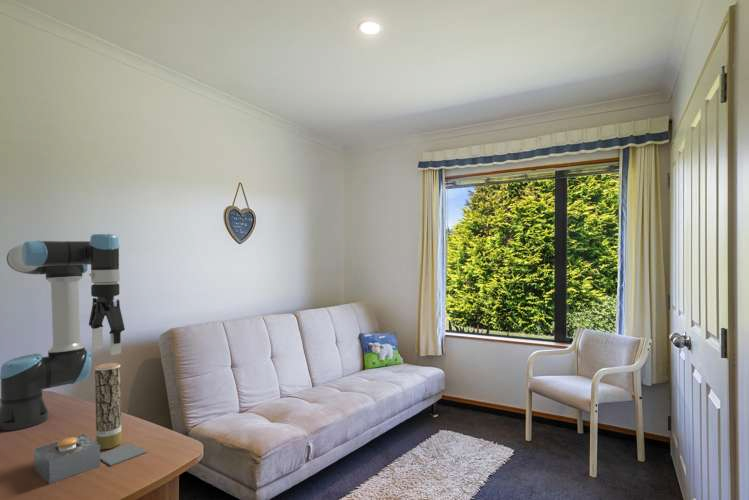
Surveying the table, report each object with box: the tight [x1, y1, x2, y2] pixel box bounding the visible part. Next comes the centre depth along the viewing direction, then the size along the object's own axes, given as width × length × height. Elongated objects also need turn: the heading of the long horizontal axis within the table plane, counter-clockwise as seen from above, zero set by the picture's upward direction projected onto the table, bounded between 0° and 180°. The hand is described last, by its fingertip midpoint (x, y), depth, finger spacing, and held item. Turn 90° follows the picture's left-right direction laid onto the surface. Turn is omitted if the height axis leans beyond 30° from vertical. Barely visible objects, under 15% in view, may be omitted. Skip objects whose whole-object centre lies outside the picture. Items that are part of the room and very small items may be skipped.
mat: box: [100, 442, 148, 467], centre depth 129 cm, size 10×10×1 cm
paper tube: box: [94, 362, 122, 450], centre depth 135 cm, size 7×7×25 cm
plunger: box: [57, 436, 77, 452], centre depth 121 cm, size 5×5×7 cm
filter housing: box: [33, 433, 101, 485], centre depth 121 cm, size 12×12×6 cm
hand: (106, 351), depth 135 cm, fingers open, 13 cm apart
